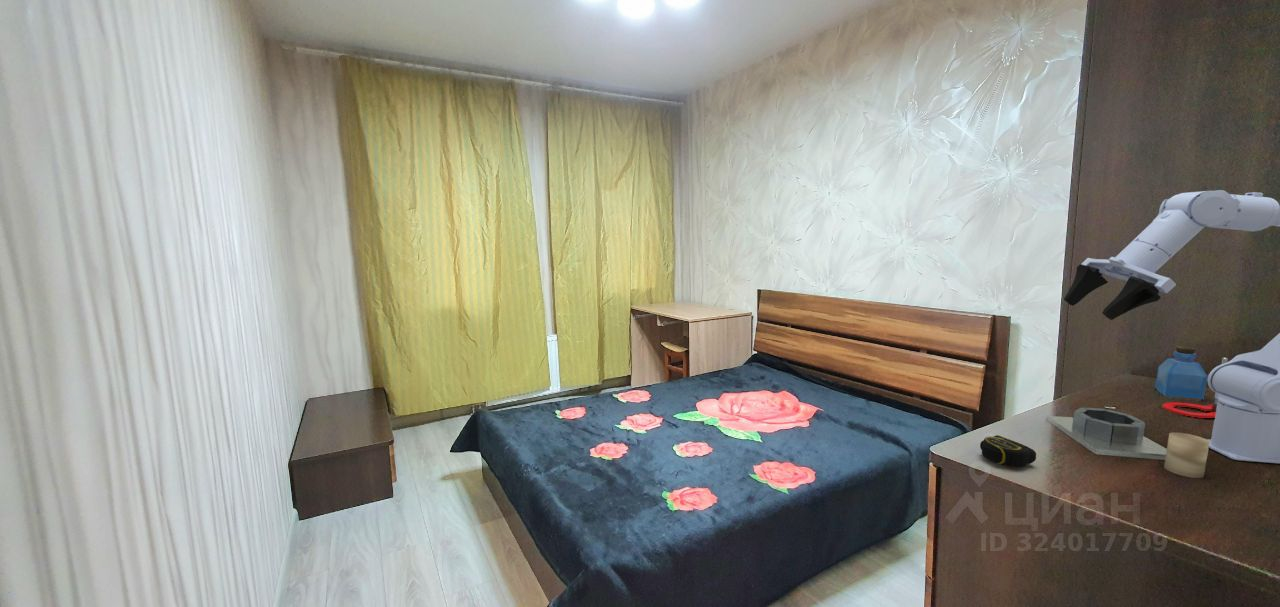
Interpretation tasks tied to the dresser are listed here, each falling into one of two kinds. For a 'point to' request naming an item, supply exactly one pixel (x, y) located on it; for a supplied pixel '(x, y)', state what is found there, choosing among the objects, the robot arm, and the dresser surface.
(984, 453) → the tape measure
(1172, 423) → the dresser surface
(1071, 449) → the dresser surface
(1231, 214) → the robot arm
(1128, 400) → the dresser surface
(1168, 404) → the tow hook
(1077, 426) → the rosette socket
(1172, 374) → the perfume bottle
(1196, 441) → the tan peg
